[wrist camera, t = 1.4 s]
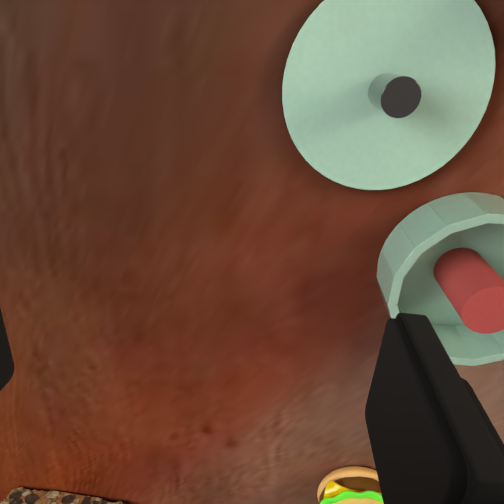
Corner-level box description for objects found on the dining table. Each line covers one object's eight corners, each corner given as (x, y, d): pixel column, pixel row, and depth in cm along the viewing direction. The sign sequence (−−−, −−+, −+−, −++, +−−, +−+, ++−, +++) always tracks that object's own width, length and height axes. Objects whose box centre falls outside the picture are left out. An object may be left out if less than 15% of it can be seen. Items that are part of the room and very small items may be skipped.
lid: (410, -90, 27) (442, -128, 21) (527, 95, 31) (579, 104, 25) (242, 85, 32) (232, 91, 27) (360, 220, 37) (373, 250, 31)
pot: (487, 157, 33) (522, 175, 28) (569, 273, 37) (612, 306, 32) (346, 258, 38) (354, 288, 34) (430, 350, 42) (449, 389, 37)
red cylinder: (466, 238, 36) (503, 276, 30) (492, 270, 37) (532, 314, 31) (423, 266, 37) (450, 308, 31) (449, 296, 39) (480, 342, 32)
